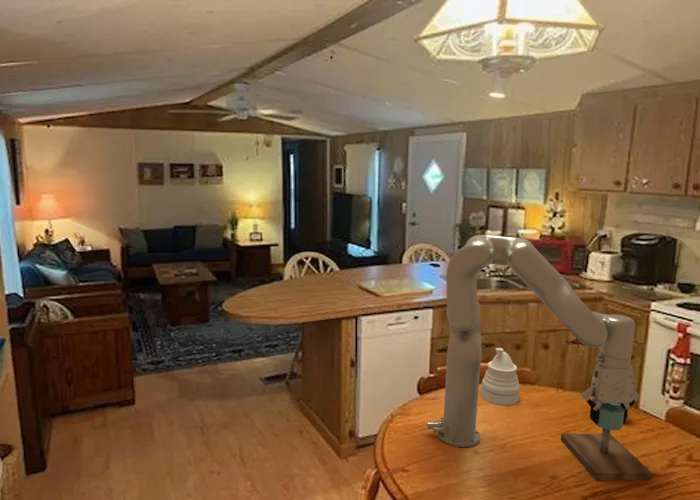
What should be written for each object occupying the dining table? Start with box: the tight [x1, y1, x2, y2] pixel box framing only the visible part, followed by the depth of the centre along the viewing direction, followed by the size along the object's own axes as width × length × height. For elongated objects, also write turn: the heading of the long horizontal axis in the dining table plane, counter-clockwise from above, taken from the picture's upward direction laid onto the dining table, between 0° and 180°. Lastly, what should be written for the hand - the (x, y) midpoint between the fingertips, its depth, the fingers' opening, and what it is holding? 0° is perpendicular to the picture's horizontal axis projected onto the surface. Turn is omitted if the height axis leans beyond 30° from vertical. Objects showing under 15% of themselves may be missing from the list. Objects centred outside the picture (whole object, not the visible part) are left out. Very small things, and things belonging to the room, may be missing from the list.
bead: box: [595, 403, 625, 431], centre depth 143 cm, size 7×7×5 cm
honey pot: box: [480, 347, 521, 406], centre depth 182 cm, size 13×13×18 cm
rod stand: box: [560, 428, 653, 481], centre depth 145 cm, size 15×20×9 cm
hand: (607, 421), depth 144 cm, fingers closed on bead, 7 cm apart
